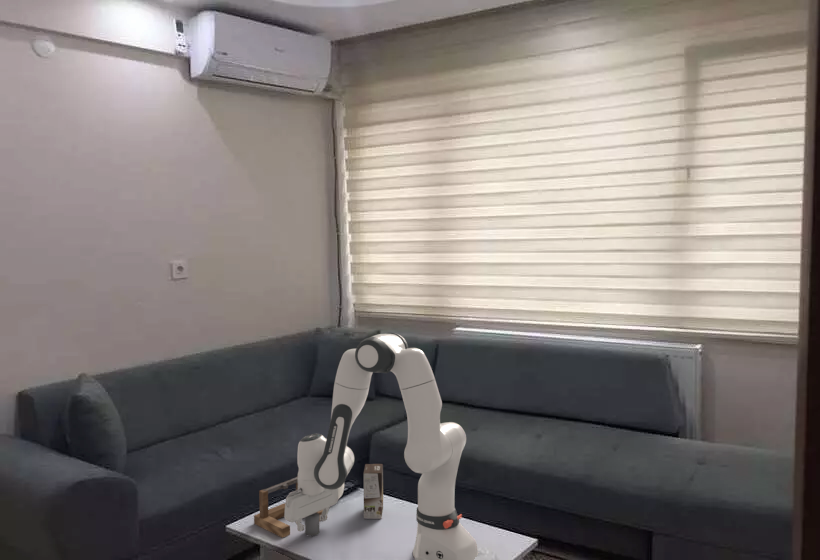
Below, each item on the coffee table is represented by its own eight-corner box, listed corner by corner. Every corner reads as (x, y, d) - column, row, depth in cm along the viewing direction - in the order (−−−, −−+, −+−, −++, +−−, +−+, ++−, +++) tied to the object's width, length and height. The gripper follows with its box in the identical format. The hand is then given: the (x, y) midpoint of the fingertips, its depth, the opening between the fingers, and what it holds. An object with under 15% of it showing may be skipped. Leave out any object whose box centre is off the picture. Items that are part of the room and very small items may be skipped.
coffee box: (382, 519, 233) (381, 473, 231) (363, 519, 233) (362, 473, 231) (383, 507, 242) (383, 463, 240) (365, 507, 242) (365, 463, 241)
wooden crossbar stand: (327, 517, 234) (326, 483, 233) (282, 537, 220) (282, 501, 218) (298, 505, 244) (297, 472, 242) (254, 524, 229) (253, 489, 228)
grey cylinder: (322, 532, 223) (322, 514, 223) (311, 537, 220) (311, 519, 219) (313, 528, 226) (312, 510, 226) (302, 533, 223) (301, 515, 222)
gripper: (292, 497, 212) (293, 540, 213) (341, 477, 227) (341, 517, 228) (279, 491, 216) (280, 533, 217) (328, 472, 231) (328, 512, 233)
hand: (312, 525), depth 223 cm, fingers open, 8 cm apart
